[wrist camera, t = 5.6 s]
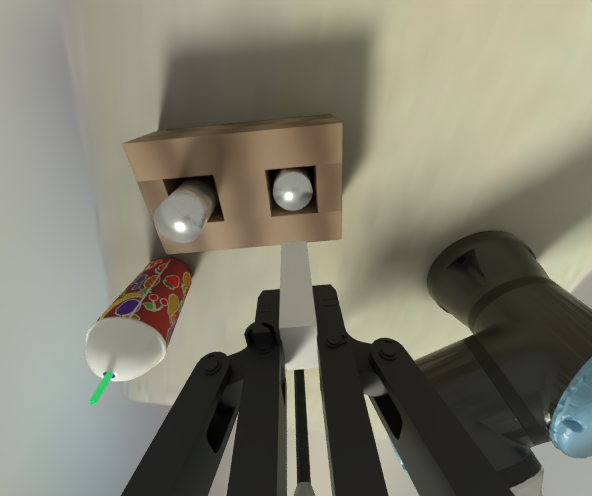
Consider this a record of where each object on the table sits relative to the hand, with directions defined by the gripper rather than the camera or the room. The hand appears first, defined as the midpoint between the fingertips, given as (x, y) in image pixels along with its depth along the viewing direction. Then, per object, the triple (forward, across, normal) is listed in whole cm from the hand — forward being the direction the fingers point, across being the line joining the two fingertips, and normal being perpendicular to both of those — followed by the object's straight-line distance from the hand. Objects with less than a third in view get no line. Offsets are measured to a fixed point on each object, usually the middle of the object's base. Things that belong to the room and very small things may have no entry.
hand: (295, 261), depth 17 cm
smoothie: (+21, +20, +14) cm, 32 cm away
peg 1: (+15, +10, 0) cm, 18 cm away
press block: (+20, +5, 0) cm, 21 cm away
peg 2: (+20, 0, 0) cm, 20 cm away
